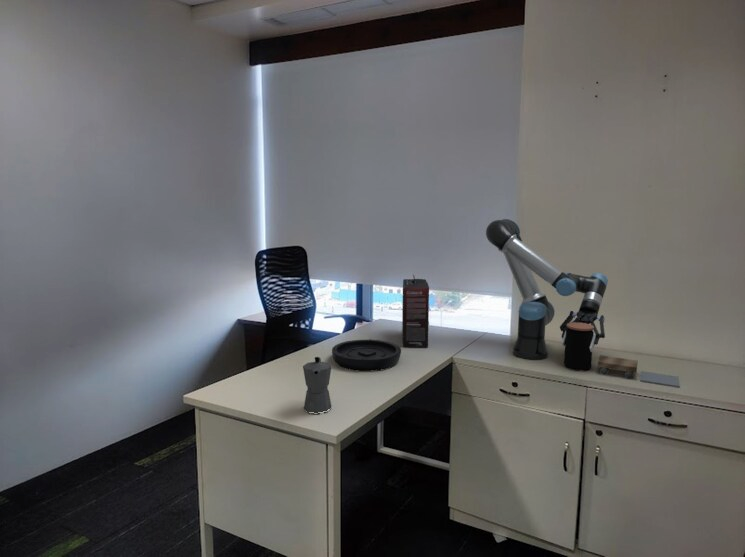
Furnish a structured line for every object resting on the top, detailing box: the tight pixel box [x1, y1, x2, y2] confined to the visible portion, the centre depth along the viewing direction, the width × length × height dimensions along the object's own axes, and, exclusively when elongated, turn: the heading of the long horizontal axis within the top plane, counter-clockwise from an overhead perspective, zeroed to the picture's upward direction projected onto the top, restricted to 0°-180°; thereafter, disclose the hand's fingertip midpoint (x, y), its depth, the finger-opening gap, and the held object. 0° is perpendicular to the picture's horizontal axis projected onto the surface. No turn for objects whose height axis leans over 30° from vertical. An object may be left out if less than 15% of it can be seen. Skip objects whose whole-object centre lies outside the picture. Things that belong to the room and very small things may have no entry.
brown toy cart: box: [597, 354, 638, 380], centre depth 200 cm, size 14×10×5 cm
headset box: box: [401, 274, 430, 348], centre depth 243 cm, size 25×12×33 cm, turn 178°
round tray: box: [331, 339, 402, 372], centre depth 214 cm, size 30×6×30 cm
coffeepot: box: [302, 356, 333, 413], centre depth 164 cm, size 15×9×18 cm, turn 3°
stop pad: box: [639, 370, 680, 389], centre depth 193 cm, size 13×12×1 cm
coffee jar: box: [563, 321, 595, 371], centre depth 206 cm, size 11×11×18 cm
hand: (576, 347), depth 204 cm, fingers closed on coffee jar, 11 cm apart
